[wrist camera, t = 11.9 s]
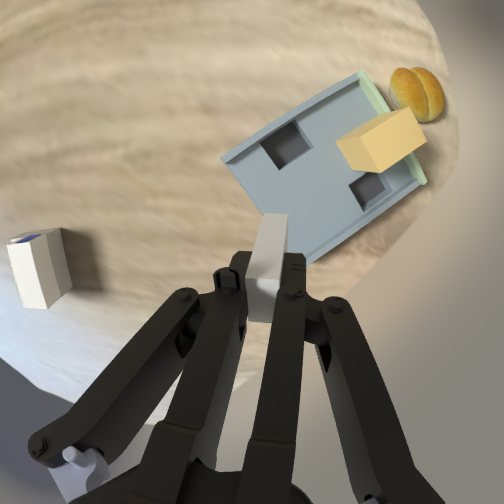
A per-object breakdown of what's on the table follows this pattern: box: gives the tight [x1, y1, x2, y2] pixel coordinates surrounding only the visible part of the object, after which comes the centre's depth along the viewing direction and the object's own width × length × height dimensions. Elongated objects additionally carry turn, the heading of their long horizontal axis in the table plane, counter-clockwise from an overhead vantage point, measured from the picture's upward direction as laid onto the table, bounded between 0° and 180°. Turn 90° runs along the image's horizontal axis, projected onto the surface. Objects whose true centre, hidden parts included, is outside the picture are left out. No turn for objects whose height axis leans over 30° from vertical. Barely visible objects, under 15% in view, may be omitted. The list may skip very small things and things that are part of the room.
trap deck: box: [220, 69, 427, 266], centre depth 32 cm, size 20×16×4 cm
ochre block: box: [335, 107, 427, 173], centre depth 27 cm, size 7×4×8 cm, turn 125°
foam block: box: [7, 228, 73, 309], centre depth 33 cm, size 10×10×8 cm
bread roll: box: [389, 68, 444, 122], centre depth 29 cm, size 8×9×4 cm
